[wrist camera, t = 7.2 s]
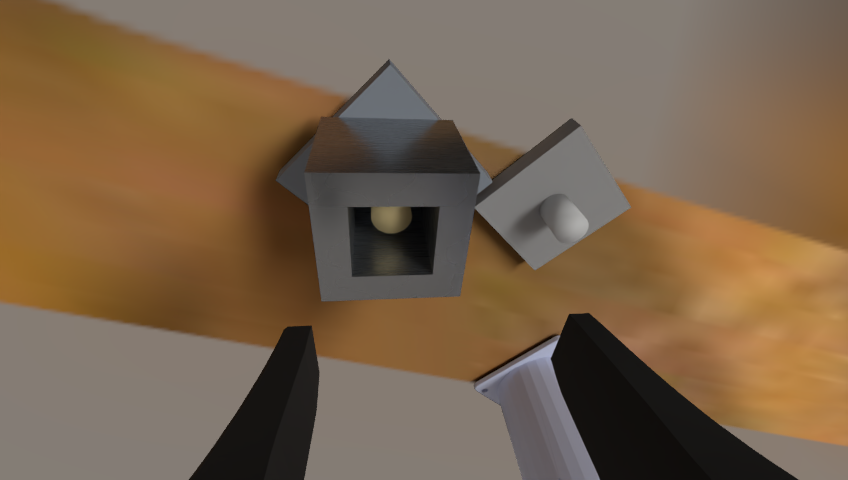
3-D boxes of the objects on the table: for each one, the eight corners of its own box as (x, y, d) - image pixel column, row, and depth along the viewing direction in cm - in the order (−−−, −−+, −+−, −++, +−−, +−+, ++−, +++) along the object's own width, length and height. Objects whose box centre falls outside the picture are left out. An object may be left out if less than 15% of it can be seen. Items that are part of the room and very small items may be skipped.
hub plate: (487, 172, 19) (512, 216, 16) (386, 252, 21) (389, 305, 18) (389, 59, 15) (394, 85, 12) (279, 170, 17) (260, 217, 14)
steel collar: (452, 120, 16) (480, 173, 12) (440, 225, 19) (459, 296, 15) (321, 116, 15) (304, 172, 11) (331, 227, 18) (321, 301, 14)
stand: (620, 197, 21) (654, 229, 18) (529, 259, 23) (548, 295, 20) (571, 118, 18) (603, 143, 15) (469, 197, 19) (483, 230, 17)
